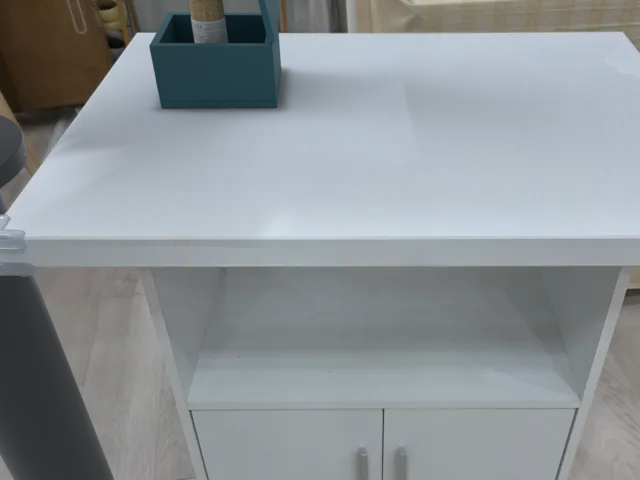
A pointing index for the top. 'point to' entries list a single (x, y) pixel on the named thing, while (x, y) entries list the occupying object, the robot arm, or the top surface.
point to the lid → (270, 17)
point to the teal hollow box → (216, 64)
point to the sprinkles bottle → (208, 21)
